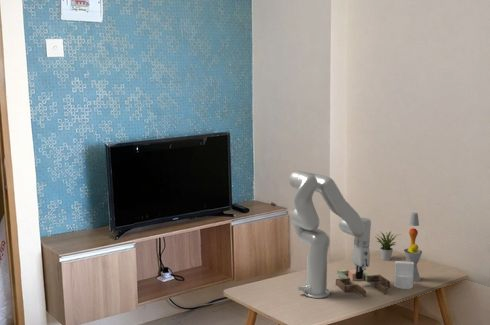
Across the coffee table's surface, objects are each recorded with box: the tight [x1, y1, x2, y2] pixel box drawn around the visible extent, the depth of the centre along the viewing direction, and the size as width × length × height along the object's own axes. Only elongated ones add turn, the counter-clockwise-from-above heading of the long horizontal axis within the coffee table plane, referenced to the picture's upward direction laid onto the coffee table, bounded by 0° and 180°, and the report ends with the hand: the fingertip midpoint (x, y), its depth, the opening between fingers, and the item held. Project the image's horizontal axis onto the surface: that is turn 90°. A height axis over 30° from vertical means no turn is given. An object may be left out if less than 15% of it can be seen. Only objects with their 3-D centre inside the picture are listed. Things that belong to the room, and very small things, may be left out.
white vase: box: [393, 260, 414, 290], centre depth 286 cm, size 9×9×12 cm
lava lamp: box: [403, 212, 423, 283], centre depth 293 cm, size 9×9×35 cm
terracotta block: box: [347, 269, 365, 282], centre depth 296 cm, size 6×6×4 cm
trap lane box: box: [335, 268, 391, 298], centre depth 288 cm, size 24×29×3 cm
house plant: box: [375, 231, 402, 261], centre depth 327 cm, size 14×14×16 cm
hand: (358, 278), depth 287 cm, fingers closed
